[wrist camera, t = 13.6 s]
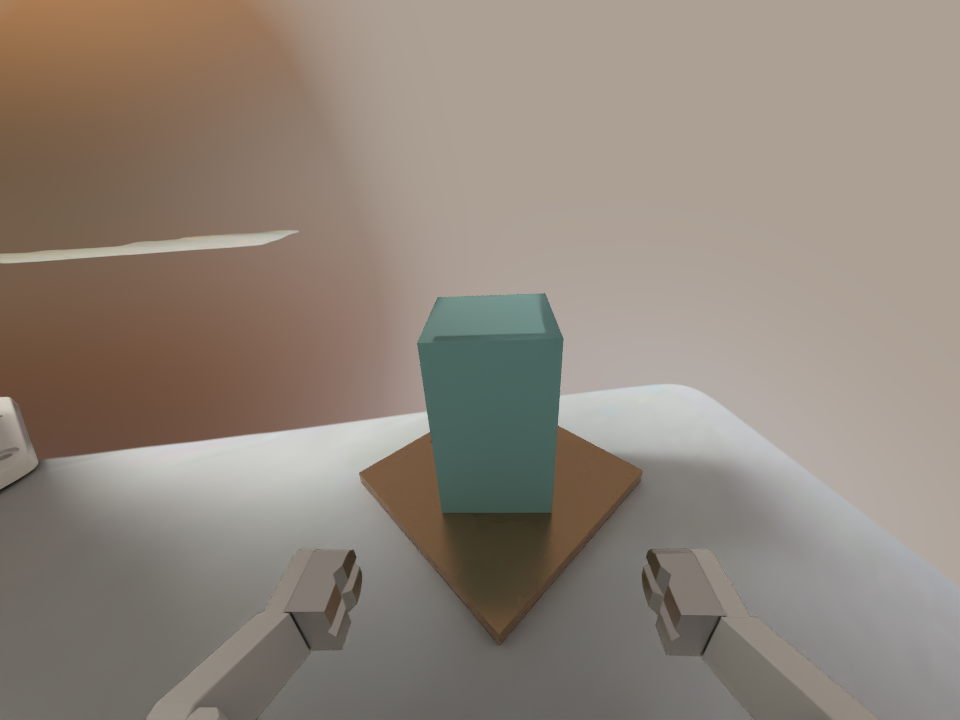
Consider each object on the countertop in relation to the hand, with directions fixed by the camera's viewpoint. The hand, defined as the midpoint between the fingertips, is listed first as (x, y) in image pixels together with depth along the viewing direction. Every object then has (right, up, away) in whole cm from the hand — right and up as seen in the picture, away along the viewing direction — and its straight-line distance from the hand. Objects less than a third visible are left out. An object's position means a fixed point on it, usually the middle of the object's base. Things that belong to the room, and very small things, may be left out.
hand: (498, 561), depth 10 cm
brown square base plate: (+1, -2, +12) cm, 12 cm away
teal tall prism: (0, -1, +11) cm, 11 cm away
